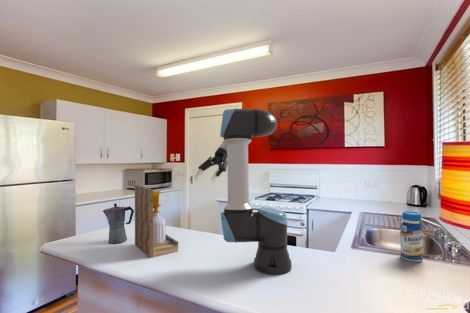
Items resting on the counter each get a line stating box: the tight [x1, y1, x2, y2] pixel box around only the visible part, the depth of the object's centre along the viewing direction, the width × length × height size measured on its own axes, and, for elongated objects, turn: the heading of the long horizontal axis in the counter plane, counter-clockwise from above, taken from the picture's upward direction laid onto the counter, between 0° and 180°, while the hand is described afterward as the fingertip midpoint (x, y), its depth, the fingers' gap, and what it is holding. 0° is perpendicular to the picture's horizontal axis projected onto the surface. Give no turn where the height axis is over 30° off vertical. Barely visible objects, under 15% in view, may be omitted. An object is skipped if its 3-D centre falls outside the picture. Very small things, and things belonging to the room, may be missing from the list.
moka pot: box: [102, 203, 135, 245], centre depth 141 cm, size 10×15×20 cm, turn 107°
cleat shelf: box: [134, 184, 179, 259], centre depth 130 cm, size 22×14×30 cm, turn 37°
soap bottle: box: [153, 190, 167, 244], centre depth 131 cm, size 9×9×25 cm
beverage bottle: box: [399, 210, 424, 263], centre depth 116 cm, size 8×8×20 cm
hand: (203, 179), depth 142 cm, fingers open, 13 cm apart
